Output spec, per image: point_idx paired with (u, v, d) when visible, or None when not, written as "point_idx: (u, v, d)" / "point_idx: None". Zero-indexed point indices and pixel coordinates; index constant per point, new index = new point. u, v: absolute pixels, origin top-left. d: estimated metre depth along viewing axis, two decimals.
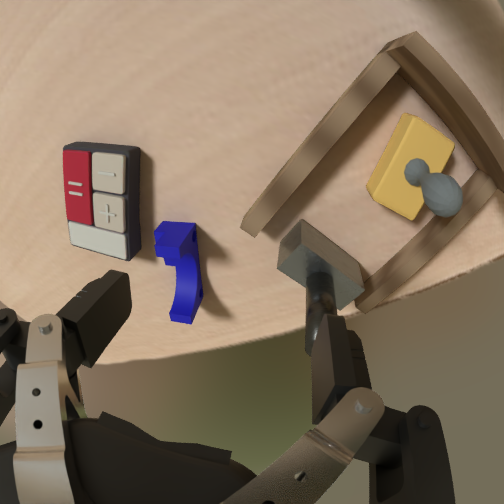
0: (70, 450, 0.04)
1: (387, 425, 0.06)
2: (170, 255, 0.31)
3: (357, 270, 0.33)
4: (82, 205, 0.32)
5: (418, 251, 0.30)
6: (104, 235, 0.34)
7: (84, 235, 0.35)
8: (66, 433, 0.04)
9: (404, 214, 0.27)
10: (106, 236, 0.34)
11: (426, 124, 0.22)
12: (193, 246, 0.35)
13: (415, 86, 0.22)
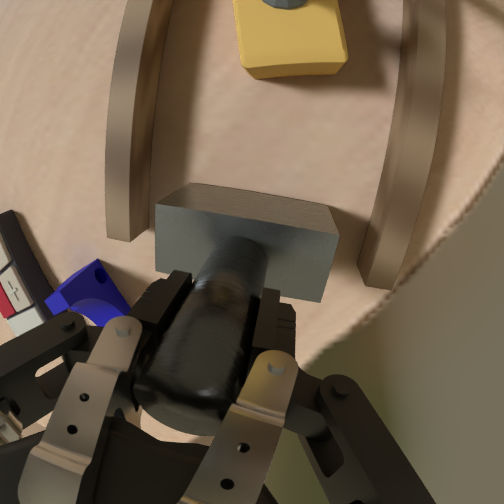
0: (97, 464, 0.04)
1: (303, 391, 0.07)
2: (60, 306, 0.19)
3: (321, 213, 0.17)
4: (0, 295, 0.24)
5: (407, 118, 0.13)
6: (26, 318, 0.24)
7: (19, 328, 0.26)
8: (99, 448, 0.04)
9: (320, 58, 0.12)
10: (28, 318, 0.24)
11: None
12: (103, 289, 0.23)
13: None
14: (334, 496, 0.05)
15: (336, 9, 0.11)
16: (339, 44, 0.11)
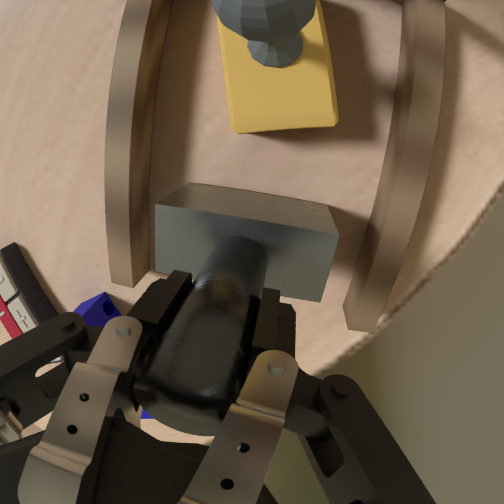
0: (97, 464, 0.04)
1: (303, 391, 0.07)
2: None
3: (321, 213, 0.17)
4: (10, 321, 0.26)
5: (395, 178, 0.15)
6: None
7: None
8: (99, 448, 0.04)
9: (310, 122, 0.14)
10: None
11: None
12: None
13: None
14: (334, 496, 0.05)
15: (328, 65, 0.12)
16: (330, 106, 0.13)
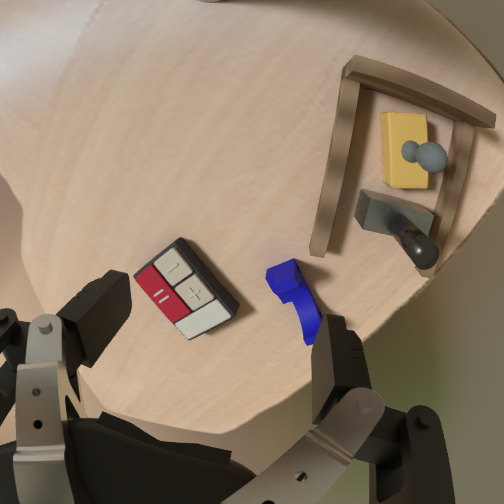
0: (70, 450, 0.04)
1: (387, 425, 0.06)
2: (289, 287, 0.38)
3: (420, 207, 0.34)
4: (174, 303, 0.45)
5: (444, 208, 0.33)
6: (204, 312, 0.45)
7: (191, 324, 0.46)
8: (65, 433, 0.04)
9: (419, 186, 0.32)
10: (206, 311, 0.45)
11: (398, 113, 0.29)
12: (300, 276, 0.42)
13: (377, 89, 0.30)
14: None
15: None
16: (426, 180, 0.32)
